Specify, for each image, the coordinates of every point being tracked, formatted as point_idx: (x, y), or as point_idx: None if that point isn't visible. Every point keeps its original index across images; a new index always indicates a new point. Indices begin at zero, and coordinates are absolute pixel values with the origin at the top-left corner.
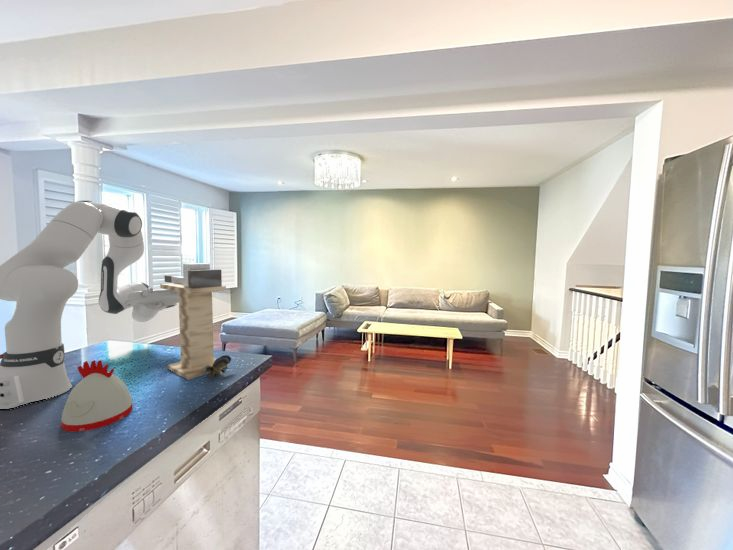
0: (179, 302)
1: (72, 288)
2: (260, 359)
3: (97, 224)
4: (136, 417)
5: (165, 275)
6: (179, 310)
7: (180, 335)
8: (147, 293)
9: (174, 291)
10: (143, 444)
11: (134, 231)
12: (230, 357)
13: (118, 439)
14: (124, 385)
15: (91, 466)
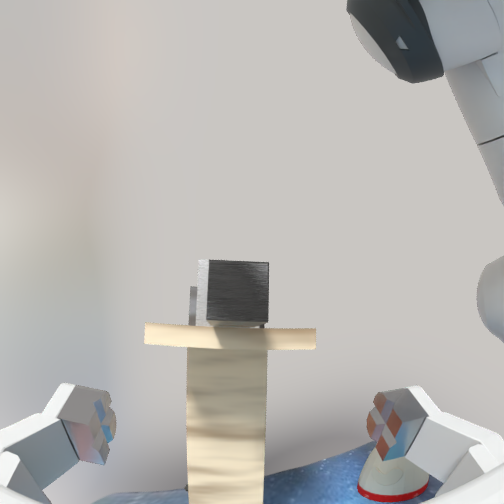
0: (265, 390)
1: (478, 310)
2: (107, 499)
3: (458, 103)
4: (350, 476)
5: (263, 264)
6: (265, 417)
7: (262, 490)
8: (423, 451)
9: (40, 490)
10: (340, 454)
11: (383, 64)
12: (186, 485)
13: (361, 461)
14: (368, 457)
15: (372, 449)
